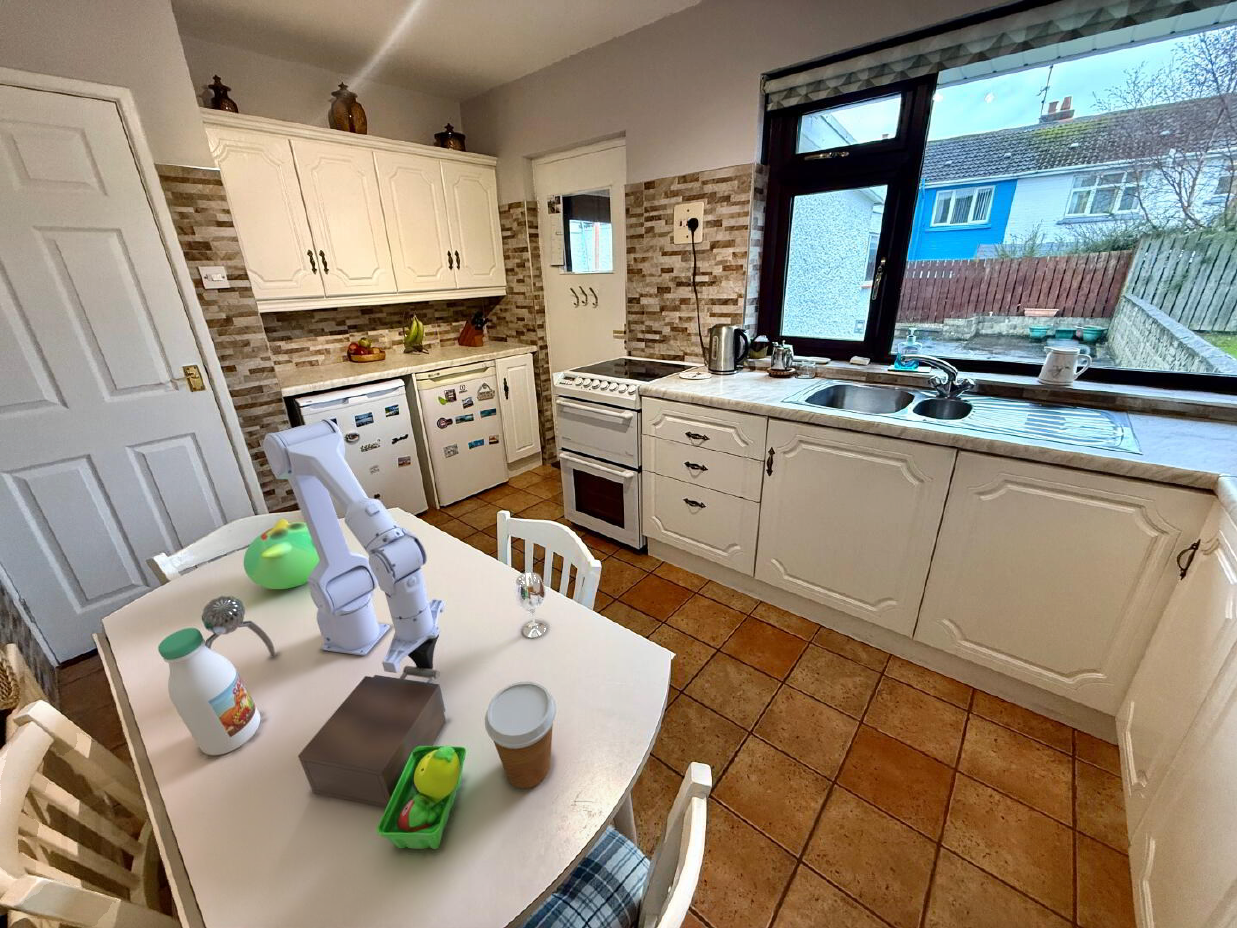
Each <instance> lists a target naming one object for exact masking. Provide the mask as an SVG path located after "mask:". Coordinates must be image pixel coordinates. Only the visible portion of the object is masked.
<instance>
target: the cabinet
mask: <svg viewBox="0 0 1237 928" xmlns="http://www.w3.org/2000/svg"><path fill="white" fill-rule="evenodd" d="M446 723H447V720H446V716H445V713H444V711H443V707H442V702H441V698H440V694H439V690H438V687H436V686H429V685H422V684H416V683H409V682H402V681H396V680H389V679H382V678H376V677H374V676H369V675H365V676H364V677H363V678H362V680H361V681H359V683H358V684H357V685H356V686H355V688H354V689H353V690H352V691H351V693H350V694H349V695H348V696H347V697H346V698H345V699H344V701H342V703H341V704H340V705H339V707H338V708H337V709H336V710H335V711H334V712H333V714H332V715H331V716H330V717H329V718H328V719H327V721H325V723H324V724H323V725H322V726H321V728H320V729H319V730H318V731H317V732H316V734H315V735H314V736H313V738H311V740H309V742H308V743H307V745H305V747H304V748H303V749H302V750H301V752H300V753H299V754H298V755H297V757H298V759H299V762H300V765H301V766H302V769H303V772H304V774H305V777H306V778H307V782H308V784H309V786H310V788H311V791H312V794H316V795H320V796H325V797H330V798H335V799H340V800H345V801H350V802H355V803H360V804H363V805H369V806H374V807H379V808H384V809H386V808H387V806H388V803H389V801H390V799H391V797H392V795H393V792H394V790H395V788H396V786H397V784H398V782H399V779H400V777H401V775H402V773H403V771H404V769H405V766H406V764H407V762H408V760H409V758H410V755H411V753H412V751H413V750H414V749H415V748H417V747H419V746H434V743H435V741H436V740H437V738H438V737H439V734H440V733H441V732H442V730H443V728H444V726H445V725H446Z"/></svg>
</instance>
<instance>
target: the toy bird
mask: <svg viewBox="0 0 1237 928" xmlns="http://www.w3.org/2000/svg"><path fill="white" fill-rule="evenodd" d="M319 561H320V560H319V557H318V554H317V552H316V549H315V546H314V544H313V541H312V539H311V536H310V533H309V531H308V528H307V526H306V523H305V520H294V521H289V522H288V520H287V519H285V518H280V519H278V520H277V522H276V523H275V524H274V525H273V527H271V528H269V529H267V530H265V531H264V532H262V533H260V534H259V535H258V536H257V537H256V538H255V539H254V540H252V542H251V543H250V544H249V545H248V547H247V548H246V551H245V553H244V556H243V568H244V571H245V573H246V575H247V577H248V578H249V579H250V580H251V581H252V582H253V583H254V584H256V585H258V586H260V587H262V588H266V589H269V590H270V589H271V590H286V589H291V588H292V589H293V588H295V587H296V588H297V587H299V586H302V585H304V584H307V583H308V575H309V574H310V573H311V571H312V570H313V569H314V567H315V566H316V565H317V564H318V562H319Z"/></svg>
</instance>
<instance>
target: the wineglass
mask: <svg viewBox="0 0 1237 928" xmlns="http://www.w3.org/2000/svg"><path fill="white" fill-rule="evenodd" d="M514 600H515V602H516V603H515V604H516V605H517V607H518V608H520V609H521V610H523V611H526V612H529V614H530V616H531V622H528V623H527V624H526V625H525V626H524V627H523V629H522V634H523V635H524V636H525V637H527V638H530V639H533V638H534V639H535V638H538V637H540V636H543V634H544V633H545V632H546V629H547V627H546V625H545V624H544V623H543V622H542V621H535V614H536V610H538V609H539V608H540V607H542V606H543V605H544V602H545V601H546V588H545V584H544V582H543V579H542V577H541V575H540V574H539V573H537V572H531V571H530V572H524V573H522V574H520V575H519V576H518V577H517V578H516V580H515V584H514Z"/></svg>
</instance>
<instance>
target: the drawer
mask: <svg viewBox="0 0 1237 928" xmlns="http://www.w3.org/2000/svg"><path fill="white" fill-rule="evenodd" d="M440 675H441V670H439V669H435V668H433V669H427V668H420V667H416V666H412V665H405V666H404V668H403V669H402V674H401V675H400V677H392V676H385V675H379V674H374V675H373V677H376V678H382V679H389V680H396V681H402V682H409V683H416V684H422V685H429V686H436V687H438V690H439V694H440V698H441V702H442V707H443V711H444V714H445V713H446V708H445V703H444V699H443V698H444V697H443V695H442V694H443V693H442V689H441V685H440V683H434V681H435V680H438V679H439V678H440ZM408 676H410V677H411V676H412V677H418V678H425V679H427V681H419V680H413V679H406V678H407V677H408Z"/></svg>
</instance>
